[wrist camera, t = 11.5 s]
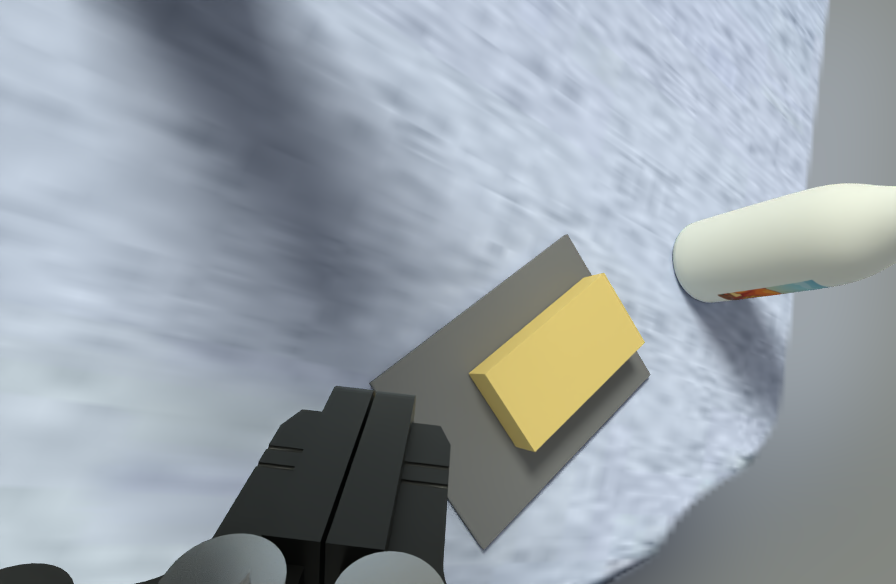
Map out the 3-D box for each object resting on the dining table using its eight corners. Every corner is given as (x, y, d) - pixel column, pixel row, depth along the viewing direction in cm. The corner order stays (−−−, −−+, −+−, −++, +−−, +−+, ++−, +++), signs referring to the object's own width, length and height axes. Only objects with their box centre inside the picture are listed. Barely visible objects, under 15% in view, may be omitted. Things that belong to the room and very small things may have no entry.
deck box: (535, 452, 35) (644, 342, 40) (485, 373, 34) (603, 272, 39) (514, 446, 37) (621, 343, 42) (467, 373, 36) (582, 277, 42)
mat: (481, 548, 35) (484, 549, 35) (369, 383, 34) (371, 383, 33) (646, 374, 44) (650, 374, 43) (564, 235, 42) (567, 234, 42)
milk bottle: (665, 291, 46) (958, 243, 28) (673, 212, 48) (953, 119, 30) (724, 312, 49) (1023, 282, 31) (729, 237, 51) (1016, 167, 33)
